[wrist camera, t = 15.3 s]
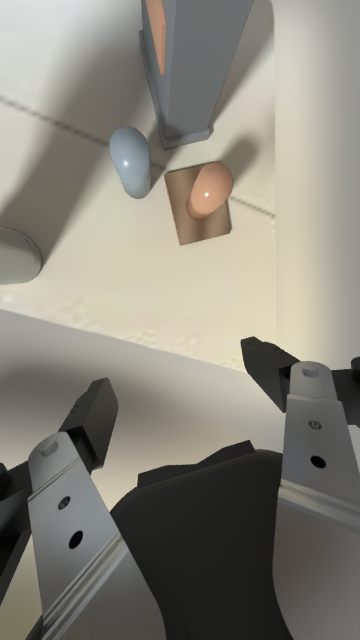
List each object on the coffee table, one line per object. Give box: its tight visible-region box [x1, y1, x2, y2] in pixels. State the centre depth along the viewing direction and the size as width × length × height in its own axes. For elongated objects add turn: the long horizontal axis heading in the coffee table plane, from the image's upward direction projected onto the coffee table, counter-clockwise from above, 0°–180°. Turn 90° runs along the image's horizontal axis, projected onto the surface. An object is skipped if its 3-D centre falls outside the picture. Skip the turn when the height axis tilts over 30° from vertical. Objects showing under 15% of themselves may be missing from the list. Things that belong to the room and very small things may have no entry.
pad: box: [164, 161, 230, 246], centre depth 36 cm, size 10×12×1 cm
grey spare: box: [109, 126, 151, 199], centre depth 30 cm, size 5×5×10 cm
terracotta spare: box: [186, 162, 233, 221], centre depth 31 cm, size 5×5×10 cm
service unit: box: [139, 0, 254, 149], centre depth 22 cm, size 8×14×20 cm, turn 14°
